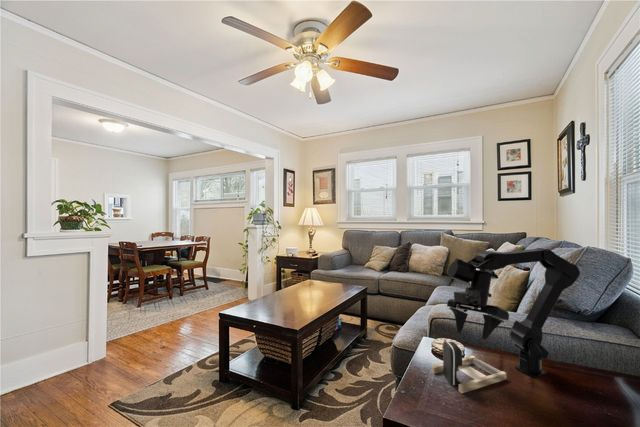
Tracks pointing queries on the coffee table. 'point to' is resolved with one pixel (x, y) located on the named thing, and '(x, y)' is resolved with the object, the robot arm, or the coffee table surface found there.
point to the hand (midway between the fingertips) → (470, 335)
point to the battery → (451, 361)
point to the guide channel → (474, 374)
